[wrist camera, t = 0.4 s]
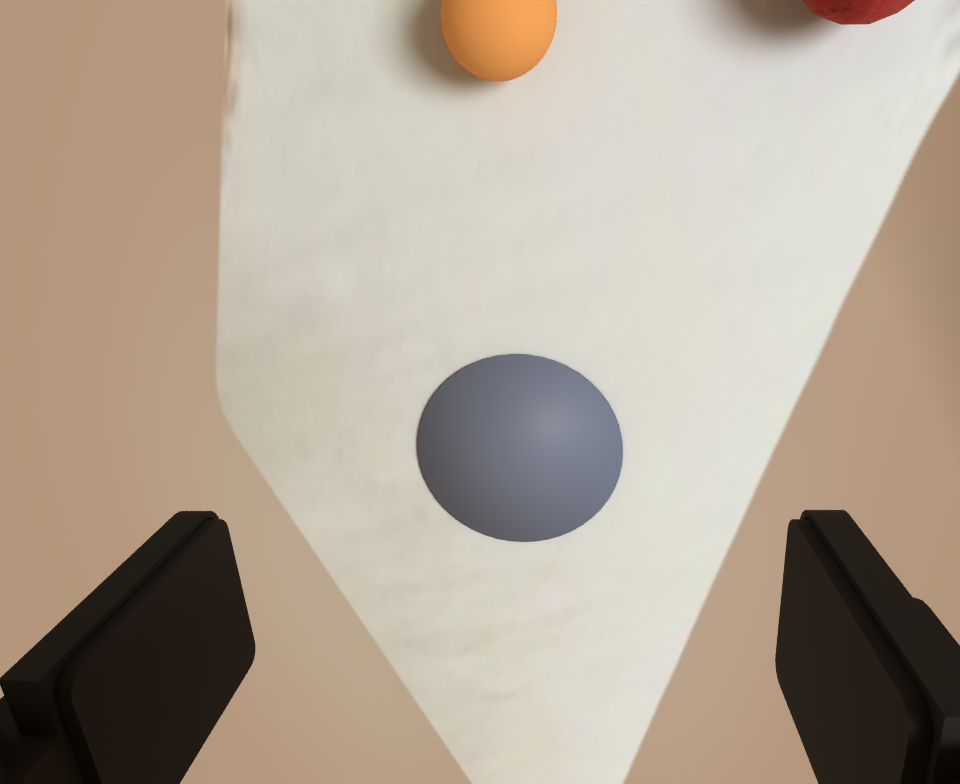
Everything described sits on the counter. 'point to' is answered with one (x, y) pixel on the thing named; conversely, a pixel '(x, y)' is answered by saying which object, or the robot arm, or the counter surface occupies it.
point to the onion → (856, 9)
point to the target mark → (520, 448)
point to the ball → (498, 35)
